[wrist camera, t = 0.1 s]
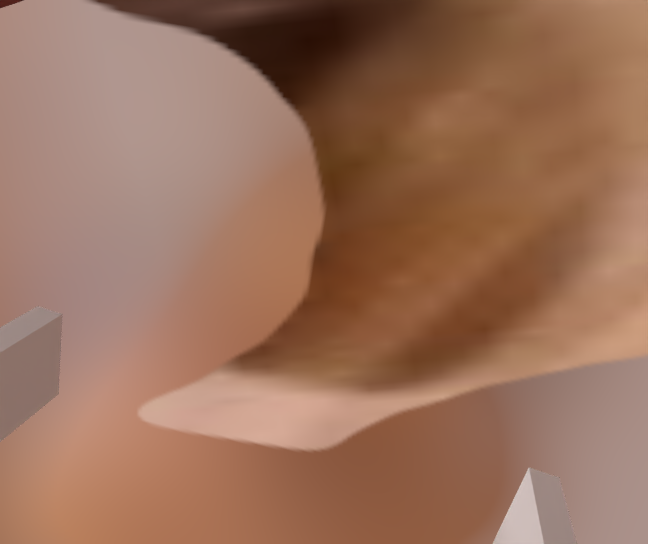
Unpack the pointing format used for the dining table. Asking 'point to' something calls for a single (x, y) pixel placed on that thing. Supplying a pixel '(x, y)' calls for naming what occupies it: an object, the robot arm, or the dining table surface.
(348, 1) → the dining table surface
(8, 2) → the plant pot
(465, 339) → the dining table surface
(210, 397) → the dining table surface
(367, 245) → the dining table surface
